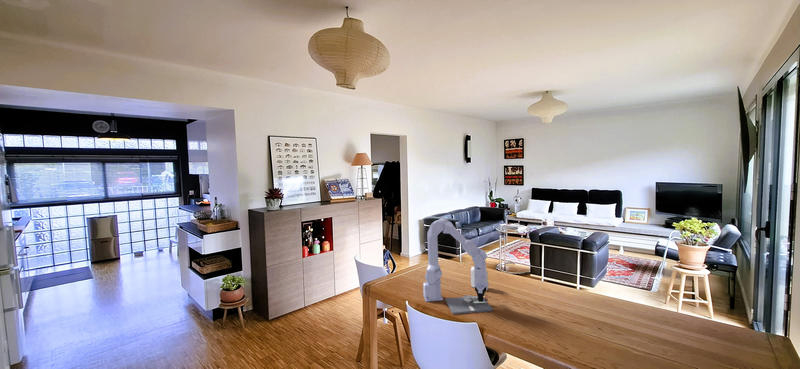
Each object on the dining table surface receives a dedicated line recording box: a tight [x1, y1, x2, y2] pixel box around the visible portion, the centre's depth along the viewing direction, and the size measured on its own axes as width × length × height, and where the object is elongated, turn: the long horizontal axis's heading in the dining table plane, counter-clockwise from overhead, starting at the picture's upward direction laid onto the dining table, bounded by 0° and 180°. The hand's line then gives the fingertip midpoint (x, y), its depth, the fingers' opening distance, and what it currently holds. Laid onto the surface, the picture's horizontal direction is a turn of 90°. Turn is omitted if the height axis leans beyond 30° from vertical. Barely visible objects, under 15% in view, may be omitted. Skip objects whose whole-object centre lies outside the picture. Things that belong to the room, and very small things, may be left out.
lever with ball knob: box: [462, 294, 489, 303], centre depth 161 cm, size 13×5×2 cm, turn 89°
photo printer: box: [470, 266, 489, 292], centre depth 181 cm, size 10×4×12 cm, turn 40°
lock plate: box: [444, 296, 494, 315], centre depth 161 cm, size 20×16×2 cm
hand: (480, 301), depth 159 cm, fingers closed, pressing on lever with ball knob
